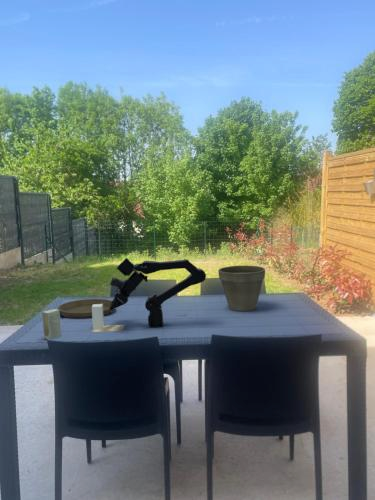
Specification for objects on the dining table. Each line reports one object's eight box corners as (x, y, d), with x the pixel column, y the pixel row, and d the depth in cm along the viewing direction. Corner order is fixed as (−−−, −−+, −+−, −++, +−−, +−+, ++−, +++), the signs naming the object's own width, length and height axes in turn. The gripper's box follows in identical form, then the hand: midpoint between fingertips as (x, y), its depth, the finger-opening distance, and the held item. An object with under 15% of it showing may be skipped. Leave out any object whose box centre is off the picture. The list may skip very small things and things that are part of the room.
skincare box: (56, 335, 193) (54, 308, 192) (61, 336, 190) (60, 309, 189) (43, 338, 188) (41, 311, 187) (49, 340, 185) (47, 312, 184)
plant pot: (244, 316, 215) (243, 273, 212) (209, 308, 233) (208, 269, 231) (275, 307, 231) (274, 268, 229) (240, 301, 249) (240, 264, 247)
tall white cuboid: (103, 325, 204) (102, 303, 203) (102, 328, 199) (101, 306, 197) (94, 326, 204) (93, 304, 202) (92, 329, 198) (91, 307, 197)
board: (125, 325, 204) (125, 324, 204) (122, 332, 194) (122, 330, 194) (95, 326, 204) (95, 325, 204) (91, 333, 194) (91, 331, 194)
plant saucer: (120, 316, 223) (120, 308, 222) (58, 323, 213) (58, 314, 213) (112, 304, 252) (112, 296, 252) (57, 309, 243) (57, 301, 242)
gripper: (120, 268, 209) (99, 292, 209) (118, 274, 190) (95, 300, 190) (137, 283, 210) (116, 307, 210) (137, 290, 192) (114, 316, 192)
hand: (110, 307), depth 201 cm, fingers open, 9 cm apart
